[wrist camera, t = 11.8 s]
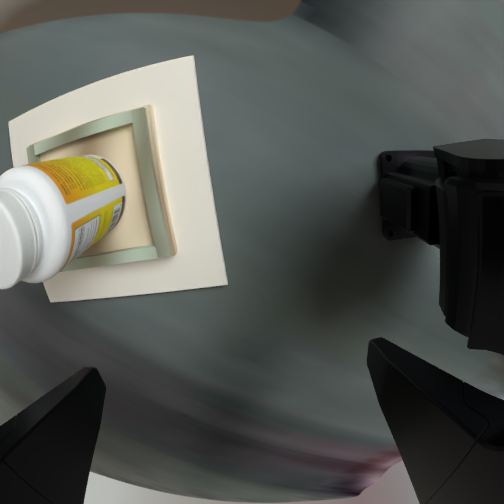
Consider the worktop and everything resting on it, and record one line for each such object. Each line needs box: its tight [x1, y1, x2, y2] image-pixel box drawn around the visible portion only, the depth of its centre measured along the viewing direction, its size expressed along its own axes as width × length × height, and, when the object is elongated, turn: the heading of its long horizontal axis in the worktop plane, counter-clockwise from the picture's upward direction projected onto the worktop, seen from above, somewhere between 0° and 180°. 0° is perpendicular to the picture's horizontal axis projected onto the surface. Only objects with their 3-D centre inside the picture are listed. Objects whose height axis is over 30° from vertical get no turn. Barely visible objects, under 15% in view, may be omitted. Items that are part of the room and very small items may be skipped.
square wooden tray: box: [26, 104, 178, 272], centre depth 18 cm, size 10×10×2 cm
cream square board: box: [9, 56, 228, 302], centre depth 19 cm, size 16×16×1 cm
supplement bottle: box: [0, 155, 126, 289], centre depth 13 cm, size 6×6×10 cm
